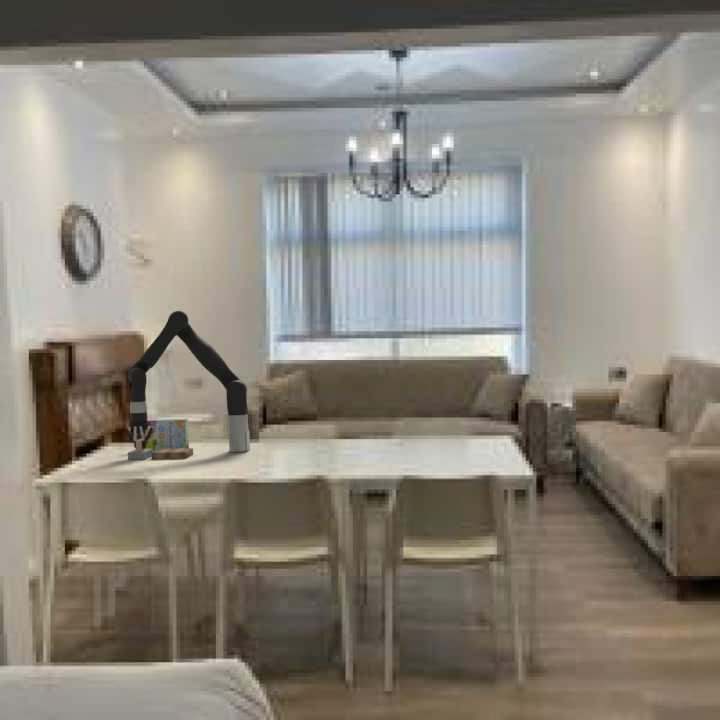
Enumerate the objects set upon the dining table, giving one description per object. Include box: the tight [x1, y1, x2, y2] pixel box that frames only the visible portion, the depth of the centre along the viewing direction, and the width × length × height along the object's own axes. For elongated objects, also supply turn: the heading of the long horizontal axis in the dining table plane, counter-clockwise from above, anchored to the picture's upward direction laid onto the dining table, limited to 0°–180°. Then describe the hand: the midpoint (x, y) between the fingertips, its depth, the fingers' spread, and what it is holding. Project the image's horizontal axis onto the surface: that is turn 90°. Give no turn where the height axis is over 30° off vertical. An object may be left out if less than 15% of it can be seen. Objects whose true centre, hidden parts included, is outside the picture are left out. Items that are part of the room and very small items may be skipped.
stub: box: [127, 438, 154, 460], centre depth 421 cm, size 8×12×8 cm, turn 176°
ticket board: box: [151, 447, 194, 460], centre depth 420 cm, size 16×12×3 cm
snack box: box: [145, 418, 190, 452], centre depth 443 cm, size 21×6×15 cm, turn 84°
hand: (140, 448), depth 421 cm, fingers closed on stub, 2 cm apart
